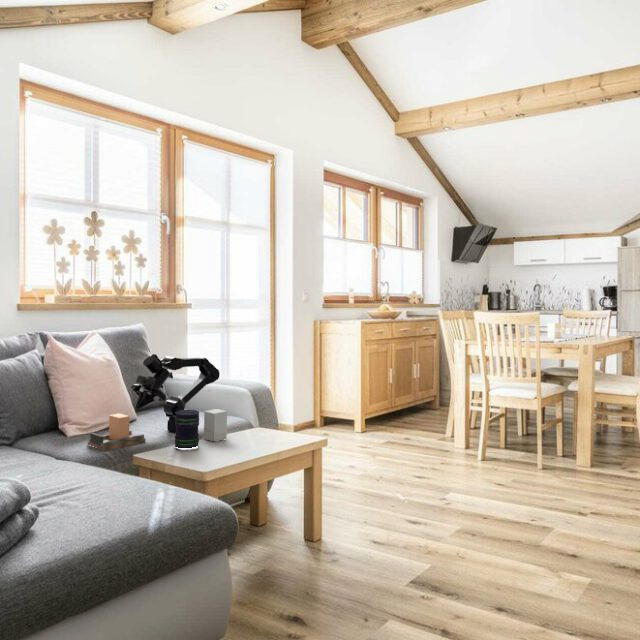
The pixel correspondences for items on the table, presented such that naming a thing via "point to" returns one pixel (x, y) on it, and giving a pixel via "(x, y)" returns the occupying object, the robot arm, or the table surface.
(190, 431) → the storage jar
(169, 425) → the robot arm
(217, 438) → the supplement box
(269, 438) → the table surface
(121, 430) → the terracotta block
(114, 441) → the walnut chute
